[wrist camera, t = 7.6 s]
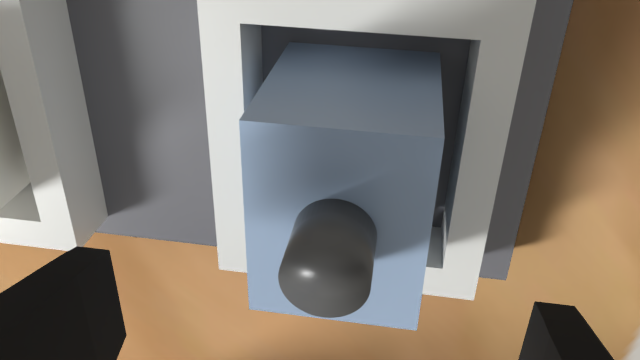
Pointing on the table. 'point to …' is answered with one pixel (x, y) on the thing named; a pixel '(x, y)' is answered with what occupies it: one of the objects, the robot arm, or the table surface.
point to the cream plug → (10, 153)
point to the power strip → (233, 99)
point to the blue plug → (342, 182)
